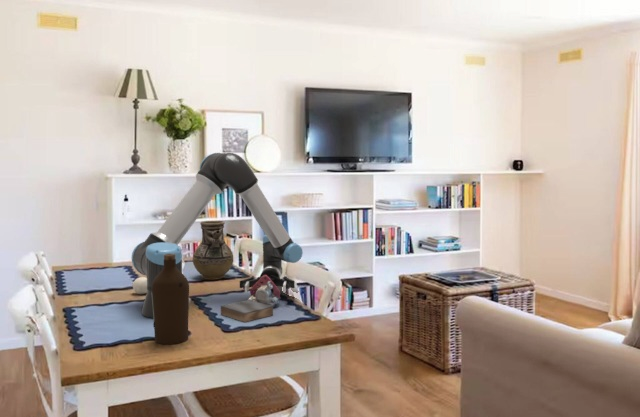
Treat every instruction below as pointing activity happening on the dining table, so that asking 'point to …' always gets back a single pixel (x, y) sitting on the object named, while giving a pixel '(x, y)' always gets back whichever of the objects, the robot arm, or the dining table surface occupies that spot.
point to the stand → (246, 310)
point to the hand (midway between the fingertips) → (264, 289)
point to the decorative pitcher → (212, 252)
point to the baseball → (140, 285)
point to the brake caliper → (265, 292)
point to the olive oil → (170, 303)
